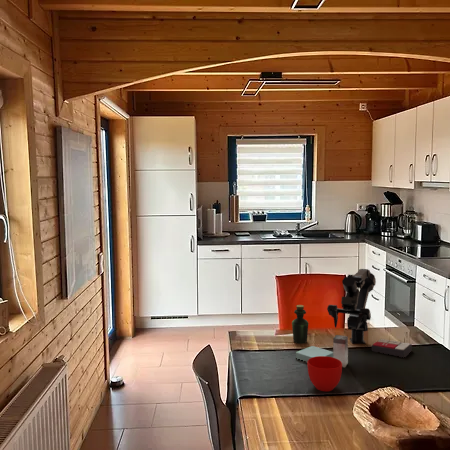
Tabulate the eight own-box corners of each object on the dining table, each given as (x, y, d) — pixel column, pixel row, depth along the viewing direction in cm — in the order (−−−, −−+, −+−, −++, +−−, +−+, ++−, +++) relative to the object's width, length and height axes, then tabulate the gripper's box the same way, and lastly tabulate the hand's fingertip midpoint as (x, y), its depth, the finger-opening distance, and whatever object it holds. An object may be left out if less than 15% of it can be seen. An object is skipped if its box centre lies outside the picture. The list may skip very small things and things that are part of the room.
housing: (336, 361, 206) (336, 334, 205) (347, 363, 204) (347, 336, 203) (333, 365, 202) (333, 338, 200) (344, 367, 199) (345, 339, 198)
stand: (312, 352, 218) (312, 345, 218) (334, 358, 209) (334, 352, 209) (295, 358, 210) (295, 352, 210) (317, 366, 201) (317, 359, 201)
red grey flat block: (380, 337, 227) (412, 342, 217) (380, 346, 227) (412, 351, 217) (371, 343, 218) (403, 349, 209) (371, 353, 218) (404, 358, 209)
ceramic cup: (344, 379, 187) (344, 354, 187) (340, 397, 172) (340, 370, 171) (311, 375, 192) (311, 351, 191) (304, 392, 176) (304, 366, 175)
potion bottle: (311, 340, 234) (311, 305, 232) (304, 345, 227) (304, 308, 225) (295, 338, 238) (295, 303, 237) (289, 342, 231) (289, 306, 230)
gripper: (328, 287, 217) (321, 316, 208) (369, 291, 208) (364, 321, 200) (332, 300, 225) (326, 329, 216) (373, 304, 216) (368, 334, 207)
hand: (345, 328), depth 209 cm, fingers open, 9 cm apart
